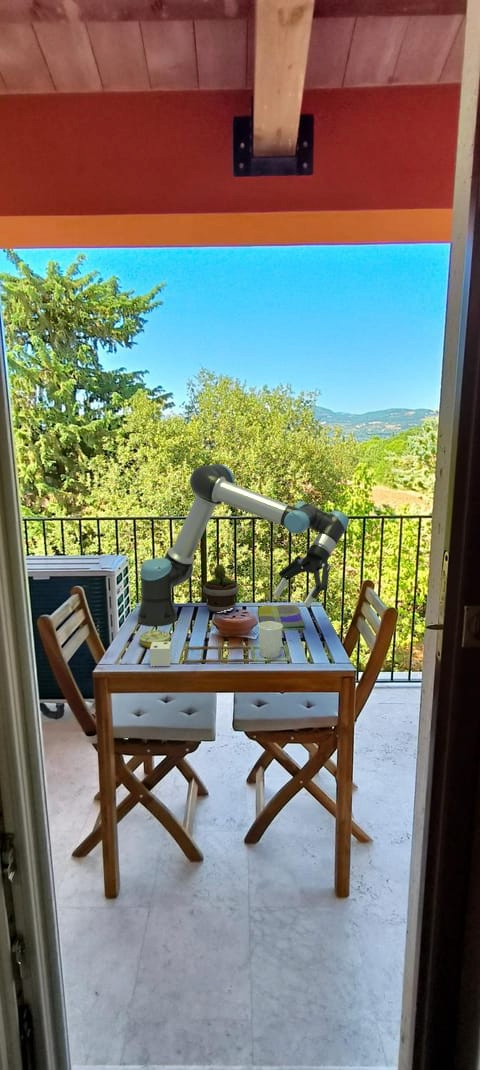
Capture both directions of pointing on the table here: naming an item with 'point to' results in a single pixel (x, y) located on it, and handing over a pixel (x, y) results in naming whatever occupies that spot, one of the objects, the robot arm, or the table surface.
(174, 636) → the table surface
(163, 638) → the decorated donut
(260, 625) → the white cup
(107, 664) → the table surface
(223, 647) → the flat rectangular frame
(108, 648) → the table surface
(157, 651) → the white die
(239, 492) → the robot arm
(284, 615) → the dish towel
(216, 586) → the flowerpot
